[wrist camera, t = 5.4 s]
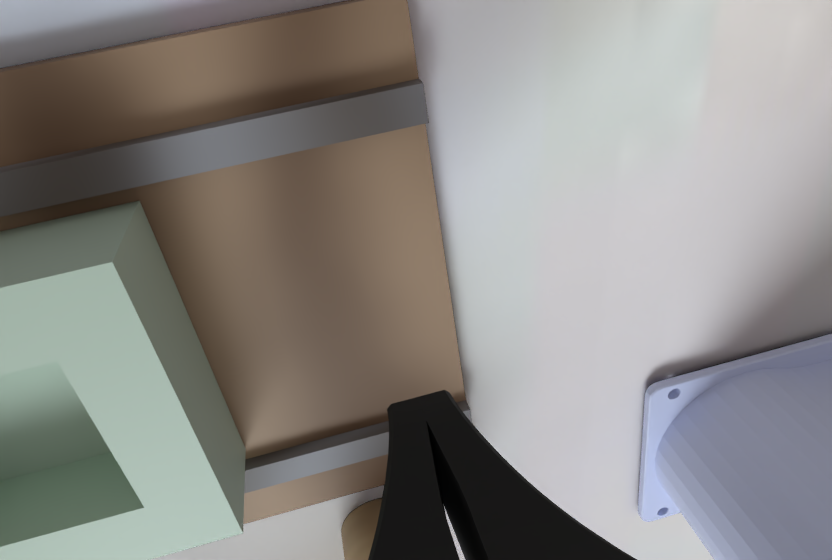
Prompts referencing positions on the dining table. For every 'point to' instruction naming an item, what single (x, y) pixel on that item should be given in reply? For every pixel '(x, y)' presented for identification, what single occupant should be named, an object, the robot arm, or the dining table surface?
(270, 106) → the walnut board
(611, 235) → the dining table surface
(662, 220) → the dining table surface
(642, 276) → the dining table surface
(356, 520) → the oak dowel
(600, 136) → the dining table surface
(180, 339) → the sage socket block
